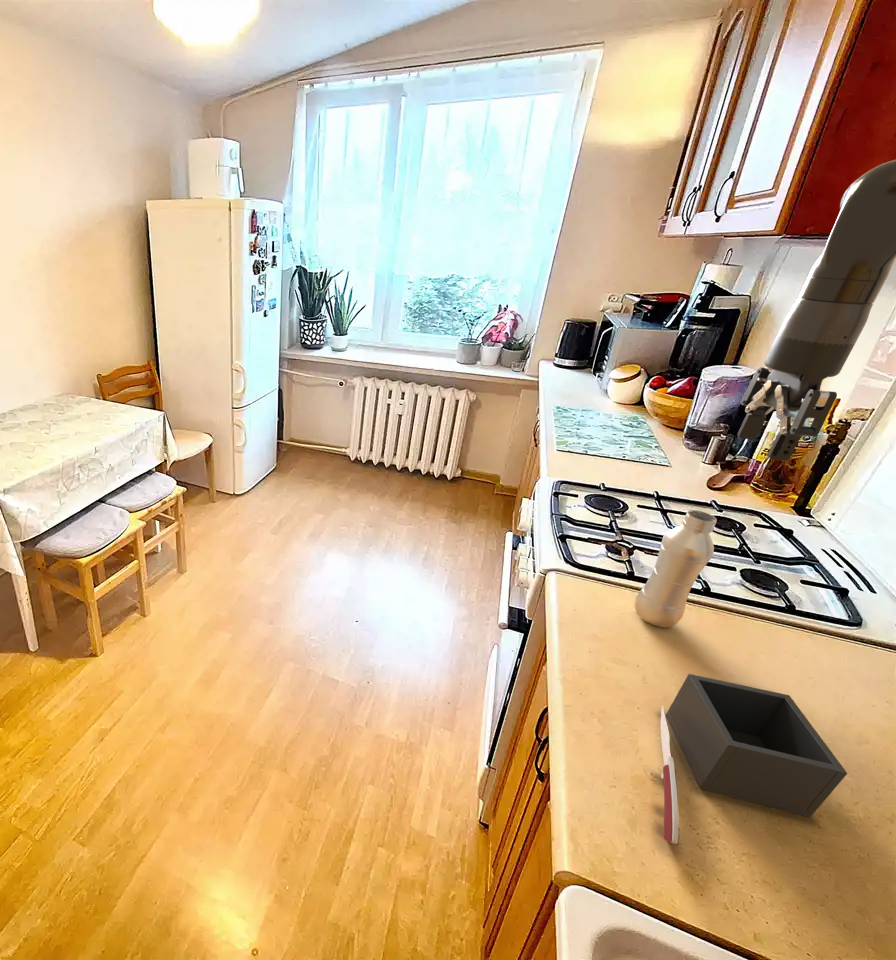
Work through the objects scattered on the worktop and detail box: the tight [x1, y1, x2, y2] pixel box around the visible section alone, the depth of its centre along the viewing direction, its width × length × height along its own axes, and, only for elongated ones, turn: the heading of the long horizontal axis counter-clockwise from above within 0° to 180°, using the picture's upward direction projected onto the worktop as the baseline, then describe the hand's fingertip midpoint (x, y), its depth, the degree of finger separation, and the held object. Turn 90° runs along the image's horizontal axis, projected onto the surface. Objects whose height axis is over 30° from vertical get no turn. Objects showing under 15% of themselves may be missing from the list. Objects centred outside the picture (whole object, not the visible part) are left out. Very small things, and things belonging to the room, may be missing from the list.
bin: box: [665, 673, 848, 818], centre depth 62 cm, size 11×11×8 cm
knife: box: [660, 704, 681, 847], centre depth 61 cm, size 20×1×3 cm, turn 148°
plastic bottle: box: [633, 509, 718, 628], centre depth 82 cm, size 6×7×20 cm
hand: (760, 448), depth 76 cm, fingers open, 8 cm apart
